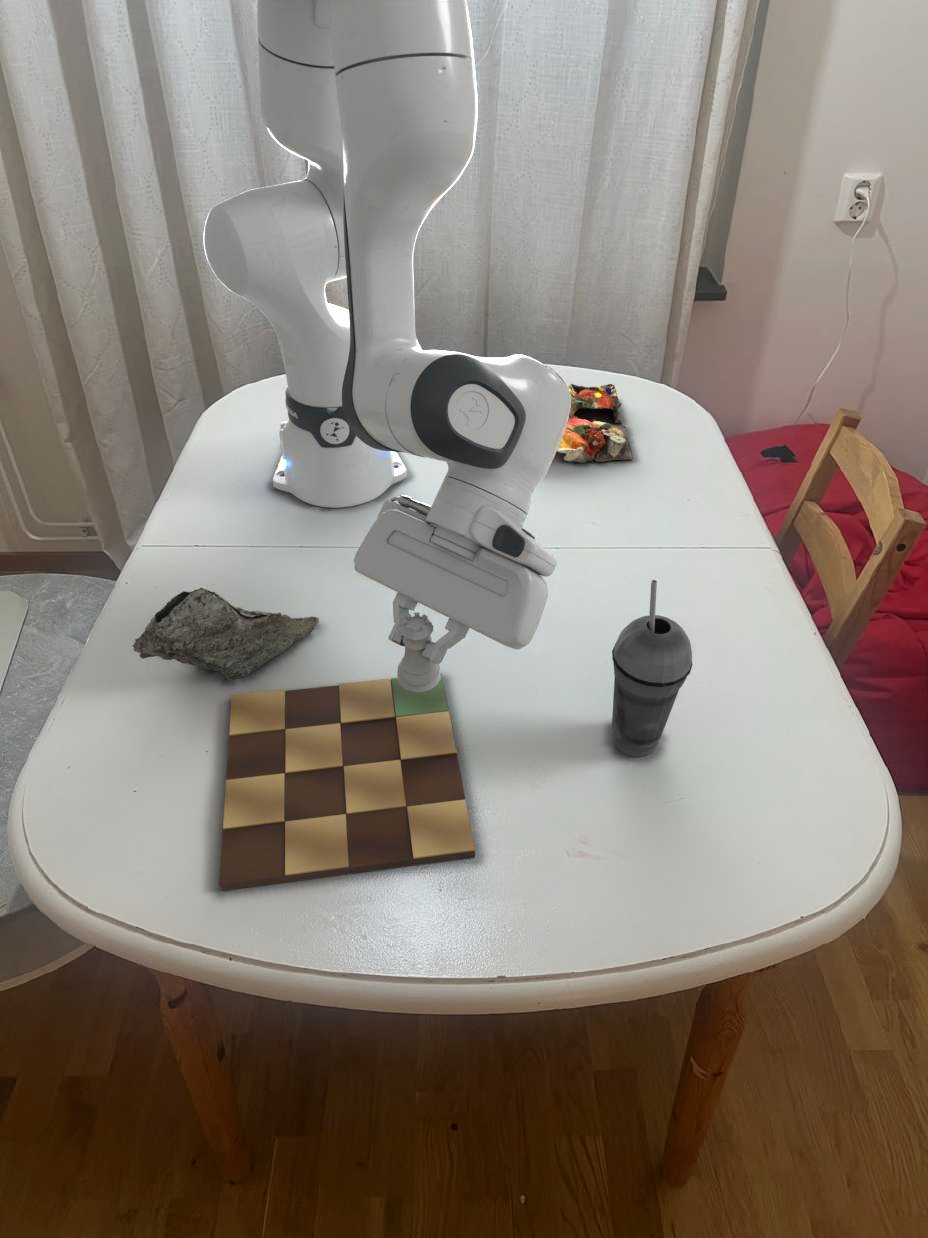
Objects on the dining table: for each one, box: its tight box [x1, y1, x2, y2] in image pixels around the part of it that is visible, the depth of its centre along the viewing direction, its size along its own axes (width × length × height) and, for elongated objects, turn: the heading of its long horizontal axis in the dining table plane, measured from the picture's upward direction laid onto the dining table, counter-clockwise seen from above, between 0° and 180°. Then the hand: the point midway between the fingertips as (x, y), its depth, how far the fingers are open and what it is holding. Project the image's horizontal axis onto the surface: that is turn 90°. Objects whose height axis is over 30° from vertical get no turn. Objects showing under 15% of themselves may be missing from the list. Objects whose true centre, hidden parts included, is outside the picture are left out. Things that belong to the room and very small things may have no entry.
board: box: [218, 672, 476, 891], centre depth 82 cm, size 22×22×1 cm
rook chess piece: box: [396, 612, 442, 693], centre depth 84 cm, size 4×4×8 cm
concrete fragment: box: [132, 587, 320, 681], centre depth 90 cm, size 6×19×11 cm, turn 131°
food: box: [557, 383, 634, 464], centre depth 131 cm, size 22×19×4 cm
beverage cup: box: [611, 579, 693, 758], centre depth 79 cm, size 7×7×20 cm
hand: (413, 652), depth 84 cm, fingers closed on rook chess piece, 3 cm apart
